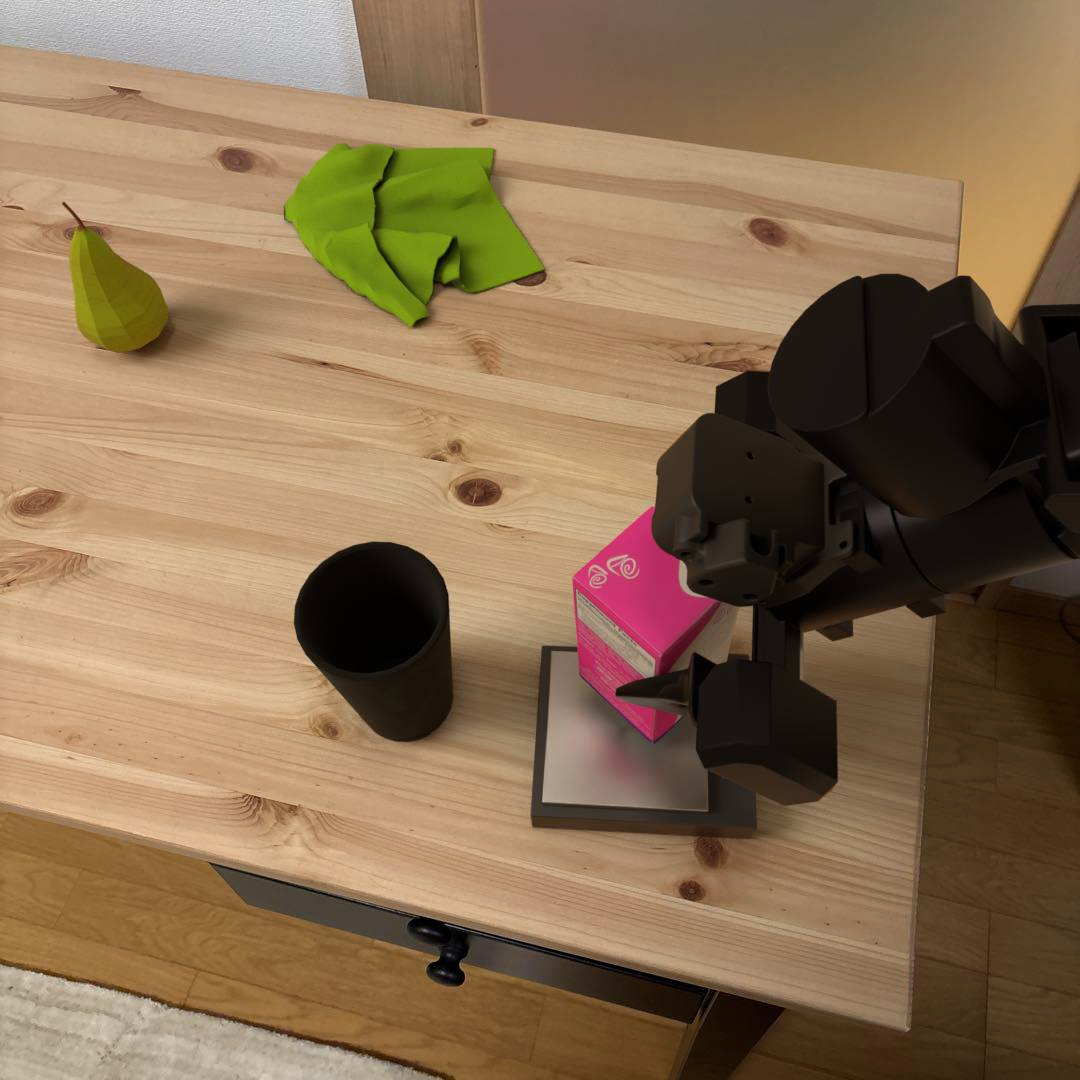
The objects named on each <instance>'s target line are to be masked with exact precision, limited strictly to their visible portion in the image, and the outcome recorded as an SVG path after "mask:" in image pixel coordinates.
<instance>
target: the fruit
mask: <svg viewBox="0 0 1080 1080" xmlns="http://www.w3.org/2000/svg"><path fill="white" fill-rule="evenodd" d="M61 205H62V206H63V207H64V208H65V209H66V210H67V212H69V214H71V216H72V217H73V218H74V219H75V221H76V222H77V224H78V225H77V226H76V227H75V228H74V232H73V235H72V239H71V242H70V246H69V250H68V264H69V267H68V268H69V272H70V278H71V283H72V288H73V289H72V290H73V296H74V311H75V322H76V325H77V329H78V331H79V332H80V333H81V334H82V336H83V337H84V338H85V339H87V340H88V341H89V342H91V343H93V344H95V345H97V346H99V347H101V348H104V349H105V350H108V351H109V352H112V353H115V354H121V353H125V352H129V351H135V350H140V349H141V348H142V347H144V346H146V345H147V344H149V343H151V342H153V341H154V340H155V339H157V338H159V336H160V335H161V333H162V331H163V329H164V328H165V326H166V324H167V322H168V320H169V315H170V312H169V311H170V310H169V308H168V306H167V303H166V300H165V298H164V297H165V296H164V294H163V291H162V290H161V289H162V288H161V287H160V286H159V284H158V283H157V281H156V280H155V279H154V278H153V276H151V275H150V274H149V273H148V272H145V271H144V270H142V269H141V268H139V267H138V266H135V265H134V264H132V263H130V262H128V261H127V260H126V259H124V258H123V257H122V256H120V254H117V252H115V251H114V250H113V248H112V247H111V246H110V245H109V244H108V243H107V242H106V240H105V239H104V238H103V237H102V236H101V235H99V233H97V232H96V231H94V230H92V229H90V228H89V227H87V226H85V224H84V223H83V221H82V219H81V218H80V217H79V216H78V214H77V213H76V212H75V211H74V210H73V209H72V208H71V207H70V206H69V205H68V203H66V202H65V201H63V202H61Z"/></svg>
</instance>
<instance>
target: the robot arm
mask: <svg viewBox="0 0 1080 1080" xmlns="http://www.w3.org/2000/svg"><path fill="white" fill-rule="evenodd" d="M1016 317H1017V324H1018V330H1019V335H1020V341H1019V340H1018V338H1017V337H1016V336H1015V335H1014V334H1013V333H1012V332H1011V331H1010V330H1009V329H1008V327H1007V326H1006V325H1005V324H1004V323H1003V321H1002V320H1000V318H999V317H998V315H997V314H996V313H995V309H994V307H993V304H992V302H991V300H990V298H989V296H988V295H987V293H986V292H985V291H984V290H983V289H982V288H981V286H980V285H979V284H978V283H977V282H976V281H975V280H974V278H972V276H970V275H965V274H964V275H963V274H962V275H961V274H960V275H957V276H955V277H953V278H952V279H950V280H948V281H945V282H943V283H941V284H939V285H937V286H936V287H933V288H931V289H928V288H926V286H924V284H922V283H920V282H919V281H918V280H917V279H915V278H914V277H912V276H908V275H904V274H901V273H878V274H874V275H869V276H866V277H862V276H860V275H854V276H852V277H850V278H848V279H846V280H844V281H841V282H840V283H838V284H836V285H835V286H833V287H832V288H830V289H829V290H827V291H826V292H825V293H823V294H821V295H820V296H819V297H818V298H817V299H816V300H815V301H814V302H813V303H811V304H810V305H809V306H808V307H807V308H806V309H805V310H804V311H803V312H802V313H801V314H800V316H798V318H797V319H796V320H795V321H794V322H793V324H792V325H791V326H790V328H789V329H788V331H787V332H786V333H785V336H784V337H783V338H782V339H781V342H780V343H779V346H778V348H777V350H776V352H775V354H774V357H773V359H772V361H771V365H770V369H767V370H765V369H753V368H751V369H748V370H746V371H744V372H742V373H739V374H737V375H736V376H734V377H732V378H730V379H728V380H726V381H724V382H721V383H720V384H717V385H716V386H715V396H714V397H715V398H714V412H707V413H704V414H701V415H700V416H698V418H697V419H696V420H695V421H694V422H693V423H692V424H691V425H690V426H689V427H688V428H687V429H686V430H685V431H684V432H683V433H682V434H681V435H680V436H679V437H678V438H677V439H676V440H675V441H674V442H673V443H672V444H671V445H670V446H669V447H668V448H667V449H666V450H665V451H664V452H663V454H661V455H660V457H659V458H658V459H657V462H656V468H655V475H656V476H657V480H656V491H655V503H654V504H655V511H654V514H653V516H652V522H651V532H652V536H653V538H654V540H655V542H656V544H657V545H658V546H659V547H660V548H661V549H662V550H663V551H664V552H666V553H667V554H669V555H672V556H674V557H675V558H676V559H678V560H681V561H683V562H684V563H685V565H686V568H687V582H686V584H687V586H688V588H689V589H690V590H691V591H692V592H693V593H696V594H699V595H702V596H705V597H708V598H711V599H715V600H718V601H721V602H724V603H727V604H730V605H733V606H736V607H739V608H747V607H752V623H751V625H752V627H751V659H749V660H743V659H735V660H731V661H728V662H724V663H720V664H716V663H714V662H712V661H710V660H709V659H707V658H705V657H703V656H701V655H700V654H698V653H696V652H694V653H692V655H691V658H690V662H689V666H688V668H687V669H684V670H679V671H675V672H670V673H666V674H661V675H657V676H652V677H648V678H643V679H639V680H635V681H632V682H629V683H627V684H625V685H622V686H620V687H618V688H616V692H615V696H616V697H617V698H619V699H621V700H623V701H625V702H627V703H630V704H634V705H638V706H643V707H647V708H651V709H656V710H660V711H664V712H669V713H673V714H678V715H682V716H686V717H689V720H690V721H691V723H692V724H693V726H694V727H695V728H697V732H696V752H697V754H698V756H699V758H700V761H701V763H702V765H703V767H704V769H706V770H708V771H710V772H713V773H715V774H717V775H719V776H721V777H723V778H725V779H728V780H730V781H732V782H734V783H736V784H738V785H740V786H743V787H745V788H747V789H749V790H751V791H753V792H755V794H758V795H760V796H762V797H764V798H766V799H768V800H769V801H770V800H771V801H773V802H775V803H777V804H779V805H781V806H783V807H787V806H793V805H794V806H795V805H801V804H802V805H803V804H811V803H818V802H819V801H821V800H822V799H823V798H825V797H826V796H827V795H828V794H829V793H831V792H832V791H833V789H834V788H835V786H836V785H837V783H838V782H839V768H838V767H839V761H838V760H839V759H838V757H839V755H838V705H837V704H838V703H837V700H836V699H834V698H832V697H831V696H829V695H828V694H826V693H824V692H822V691H820V690H819V689H817V688H816V687H814V686H812V685H811V684H808V683H807V682H806V681H805V680H804V666H805V665H804V663H805V662H804V661H805V660H804V657H805V655H804V652H805V651H804V650H805V649H804V645H805V644H804V642H805V641H804V637H805V636H804V634H805V633H810V632H813V631H815V632H817V633H819V634H820V635H821V636H823V637H825V638H826V639H828V640H830V641H831V642H836V641H840V640H844V639H848V638H852V637H854V620H857V619H861V618H865V617H869V616H872V615H876V614H881V613H883V612H887V611H891V610H895V609H898V608H902V607H905V608H907V609H908V610H909V611H911V612H912V613H914V614H915V615H916V616H917V617H919V618H921V619H922V620H923V619H928V618H931V617H934V616H939V615H942V614H947V606H946V595H950V594H951V595H952V594H954V593H958V592H961V591H962V592H963V591H965V590H968V589H973V588H976V587H981V586H984V585H987V584H991V583H994V582H998V581H1002V580H1006V579H1010V578H1013V577H1017V576H1021V575H1024V574H1029V573H1032V572H1036V571H1040V570H1043V569H1047V568H1051V567H1054V566H1058V565H1063V564H1066V563H1071V562H1073V561H1077V560H1080V303H1065V304H1064V303H1063V304H1033V305H1027V306H1024V307H1023V308H1021V309H1020V310H1019V311H1018V313H1017V315H1016Z"/></svg>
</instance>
